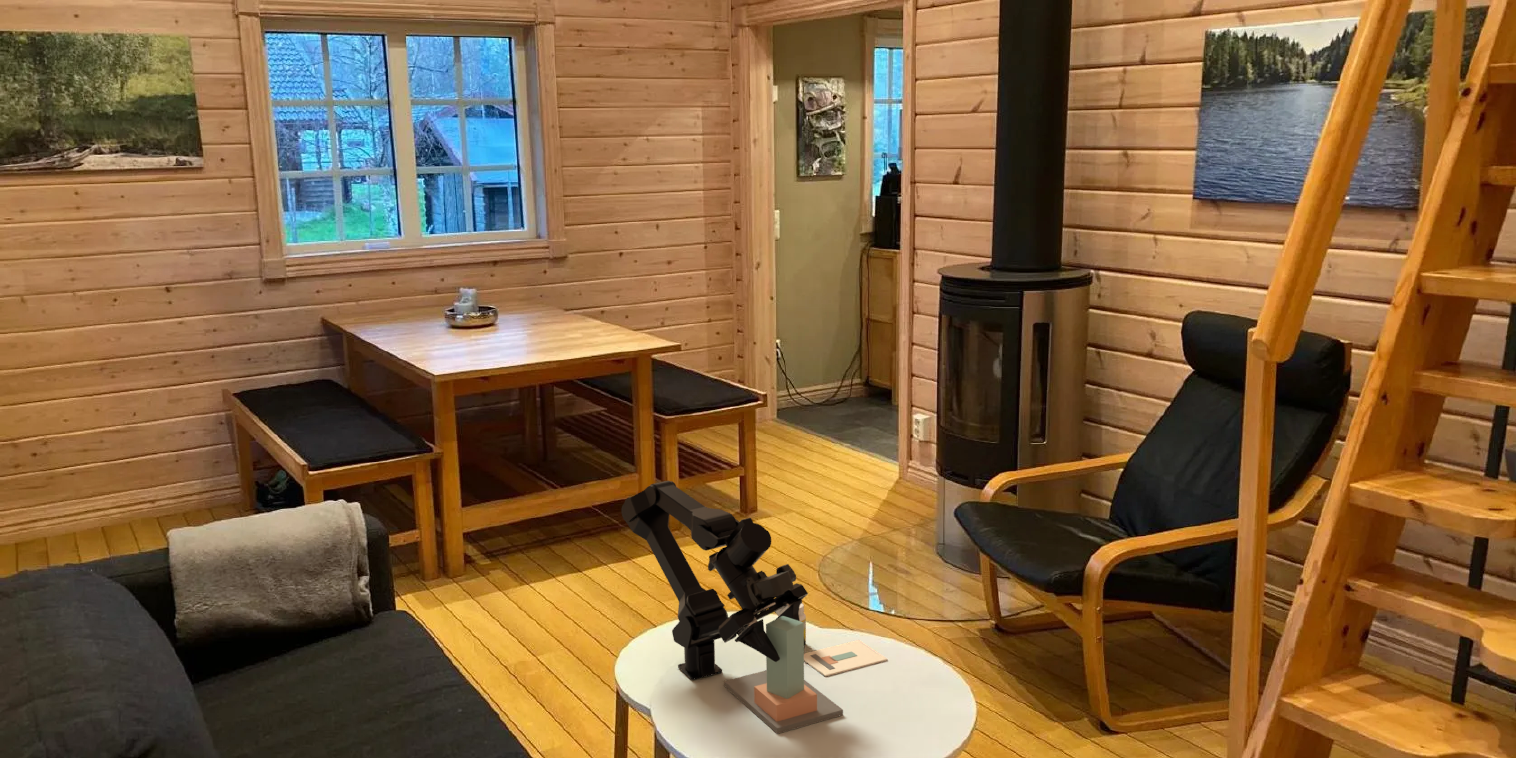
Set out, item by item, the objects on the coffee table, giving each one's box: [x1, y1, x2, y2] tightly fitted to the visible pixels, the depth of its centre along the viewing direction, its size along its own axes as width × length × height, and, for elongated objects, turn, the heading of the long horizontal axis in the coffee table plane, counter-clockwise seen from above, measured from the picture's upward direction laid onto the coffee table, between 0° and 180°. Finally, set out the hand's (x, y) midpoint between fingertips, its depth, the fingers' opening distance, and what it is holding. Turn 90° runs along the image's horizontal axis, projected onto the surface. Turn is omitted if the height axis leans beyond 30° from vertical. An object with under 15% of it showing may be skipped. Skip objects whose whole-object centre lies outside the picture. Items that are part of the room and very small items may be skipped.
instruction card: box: [804, 639, 888, 677], centre depth 220 cm, size 10×14×1 cm
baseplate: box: [723, 669, 844, 734], centre depth 204 cm, size 20×13×4 cm, turn 28°
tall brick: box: [765, 616, 805, 699], centre depth 198 cm, size 5×5×12 cm
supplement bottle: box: [799, 602, 807, 643], centre depth 226 cm, size 5×5×8 cm
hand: (791, 653), depth 197 cm, fingers open, 7 cm apart
